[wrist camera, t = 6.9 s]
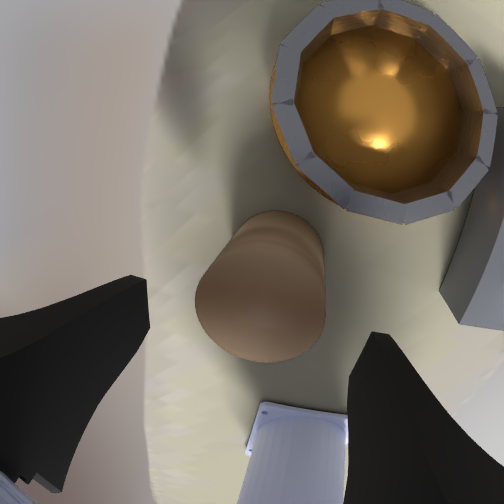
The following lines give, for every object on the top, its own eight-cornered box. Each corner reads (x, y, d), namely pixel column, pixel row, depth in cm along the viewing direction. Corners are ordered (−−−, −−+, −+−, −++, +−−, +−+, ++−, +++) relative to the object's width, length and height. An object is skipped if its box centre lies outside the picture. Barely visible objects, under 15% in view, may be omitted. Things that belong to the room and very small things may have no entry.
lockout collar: (452, 237, 12) (471, 256, 10) (255, 190, 13) (244, 201, 11) (482, 52, 7) (506, 43, 5) (285, -8, 9) (279, -32, 7)
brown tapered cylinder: (311, 303, 15) (306, 372, 10) (228, 284, 15) (193, 345, 11) (333, 221, 13) (342, 271, 8) (238, 202, 13) (198, 239, 9)
